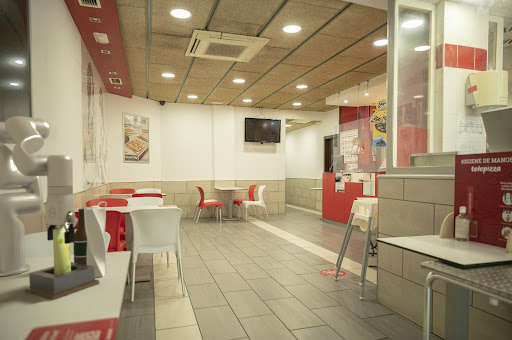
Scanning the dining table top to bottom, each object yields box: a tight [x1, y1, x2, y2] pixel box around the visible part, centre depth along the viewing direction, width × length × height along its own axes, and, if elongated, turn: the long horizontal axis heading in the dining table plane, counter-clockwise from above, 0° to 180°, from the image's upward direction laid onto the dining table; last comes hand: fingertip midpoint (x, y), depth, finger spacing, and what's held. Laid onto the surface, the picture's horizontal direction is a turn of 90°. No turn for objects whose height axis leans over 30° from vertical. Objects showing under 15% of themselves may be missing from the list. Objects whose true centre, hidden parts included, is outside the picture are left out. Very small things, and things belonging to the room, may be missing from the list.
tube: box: [52, 225, 72, 275], centre depth 113 cm, size 6×5×20 cm
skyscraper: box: [84, 200, 108, 278], centre depth 126 cm, size 8×8×28 cm
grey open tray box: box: [24, 261, 100, 301], centre depth 113 cm, size 16×16×6 cm
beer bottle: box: [72, 207, 88, 265], centre depth 139 cm, size 8×8×24 cm
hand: (60, 241), depth 114 cm, fingers open, 9 cm apart
